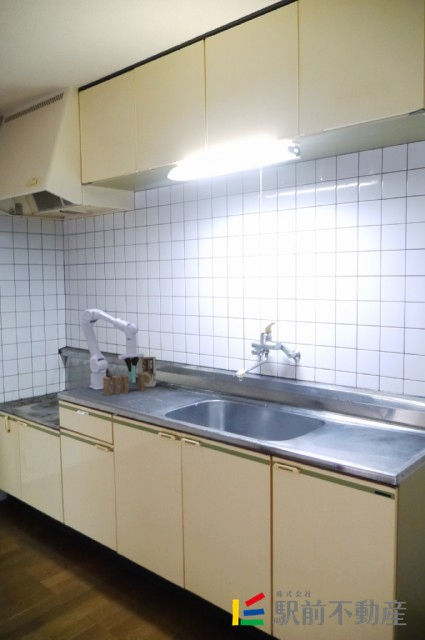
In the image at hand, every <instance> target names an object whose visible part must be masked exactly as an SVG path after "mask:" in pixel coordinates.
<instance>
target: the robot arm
mask: <svg viewBox="0 0 425 640" xmlns="http://www.w3.org/2000/svg"><path fill="white" fill-rule="evenodd" d="M81 318H82V321H81V328H82V331H83V334H84V338H85V341H86V345H87V347H88V351H89V354H90V358H89V369H90V370H91V374H90V385H89V388H91V389H93V390H103V377H107V369H108V367H109V362H108V361H107V359H106V358H105V356H104V355H103V354H102V353H101V350H100V349H101V348H100V346H99V343H98V339H97V337H96V333H95V330H94V325H95V323H97V322H98V321H99V320H102V321H105V322H107V323H109V324H111V325H113V327H114V329H117V330H119V331H121V332H123V334H124V335H125V354H121V355H118V357H117V359H118V360H124V363H125V364H126V367H127V372H128V371H129V372H131V365H135V370H136V368H137V365H138V361H139V358H140V357H145V353H144V352H143V353H138V352H137V351H138V349H137V348H138V346H137V344H138V343H137V334H138V332H139V326H138V325H137V324H136V323H131V322H130V321H127V320H124V318H123V317H118V318H115V317H114V316H111V315H110V314H108V313H107V312H105V311H103V310H102V309H99V308H89V309H84V310H83V311H82V313H81Z"/></svg>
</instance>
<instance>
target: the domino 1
mask: <svg viewBox="0 0 425 640" xmlns="http://www.w3.org/2000/svg"><path fill="white" fill-rule="evenodd" d="M111 383H112V377H108V376H106V377H103V389H102V390H103V391H102V392H103V395H105V396H111V395H112V391H111V390H112V388H111V387H112V384H111Z"/></svg>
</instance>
